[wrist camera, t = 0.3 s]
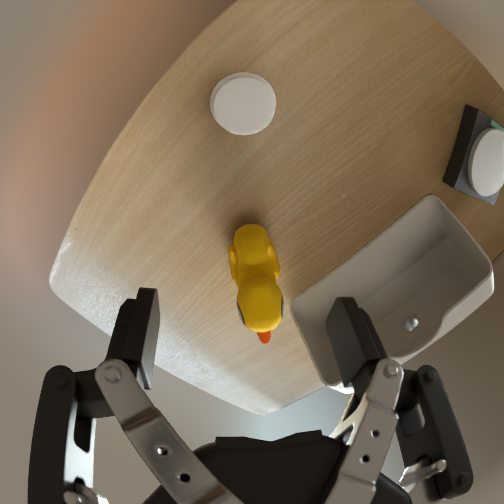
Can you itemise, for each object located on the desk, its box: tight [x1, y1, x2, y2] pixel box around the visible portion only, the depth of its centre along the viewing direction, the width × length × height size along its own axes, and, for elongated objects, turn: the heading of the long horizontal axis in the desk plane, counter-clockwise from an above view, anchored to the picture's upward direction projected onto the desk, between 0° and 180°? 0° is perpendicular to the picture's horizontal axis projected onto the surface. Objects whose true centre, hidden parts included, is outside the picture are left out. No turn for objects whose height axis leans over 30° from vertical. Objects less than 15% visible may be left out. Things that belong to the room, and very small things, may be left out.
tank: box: [290, 195, 494, 394], centre depth 33 cm, size 25×16×12 cm, turn 133°
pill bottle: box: [210, 72, 276, 135], centre depth 20 cm, size 5×5×8 cm
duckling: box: [228, 224, 284, 344], centre depth 29 cm, size 11×5×10 cm, turn 6°
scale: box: [443, 105, 504, 205], centre depth 26 cm, size 11×11×3 cm
